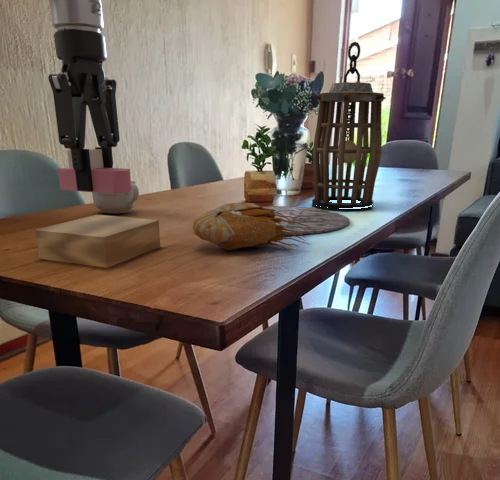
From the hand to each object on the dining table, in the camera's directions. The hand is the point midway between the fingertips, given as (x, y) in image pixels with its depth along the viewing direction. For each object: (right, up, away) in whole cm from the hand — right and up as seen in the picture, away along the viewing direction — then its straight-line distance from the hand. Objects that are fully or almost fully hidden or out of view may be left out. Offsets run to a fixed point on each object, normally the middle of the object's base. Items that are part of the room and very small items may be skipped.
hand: (96, 188), depth 87 cm
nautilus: (+27, -9, +8) cm, 29 cm away
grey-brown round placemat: (+33, +2, +35) cm, 48 cm away
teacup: (-7, +6, +42) cm, 43 cm away
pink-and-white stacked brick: (0, 0, 0) cm, 0 cm away
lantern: (+52, +10, +54) cm, 76 cm away
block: (0, -10, +4) cm, 11 cm away
